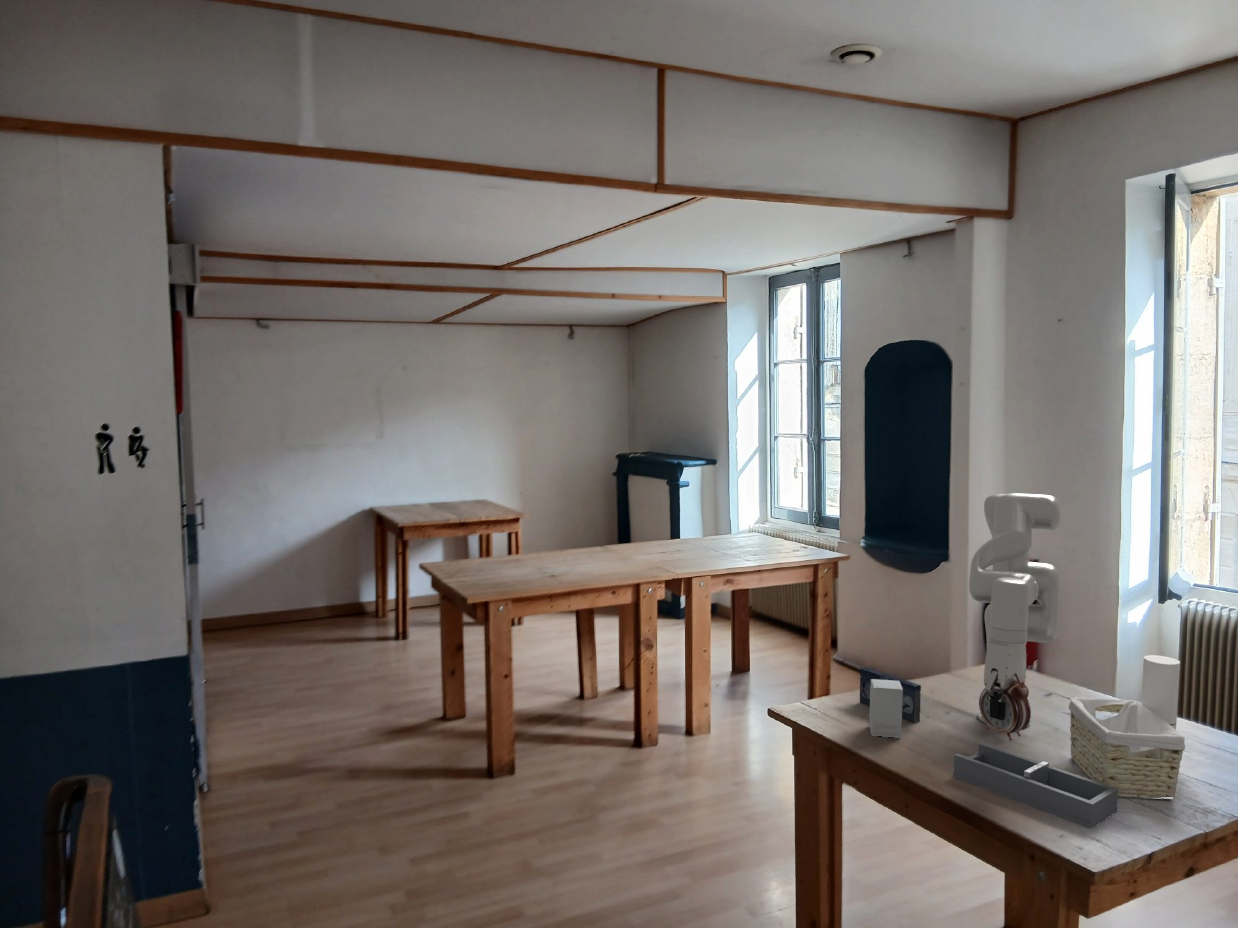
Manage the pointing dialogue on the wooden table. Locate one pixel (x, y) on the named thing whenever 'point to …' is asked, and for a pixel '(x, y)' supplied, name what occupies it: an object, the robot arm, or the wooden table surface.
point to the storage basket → (1126, 747)
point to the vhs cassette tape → (909, 693)
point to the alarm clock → (1008, 709)
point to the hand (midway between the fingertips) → (1004, 714)
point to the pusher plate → (1038, 773)
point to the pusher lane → (1038, 786)
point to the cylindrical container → (1161, 687)
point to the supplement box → (885, 708)
